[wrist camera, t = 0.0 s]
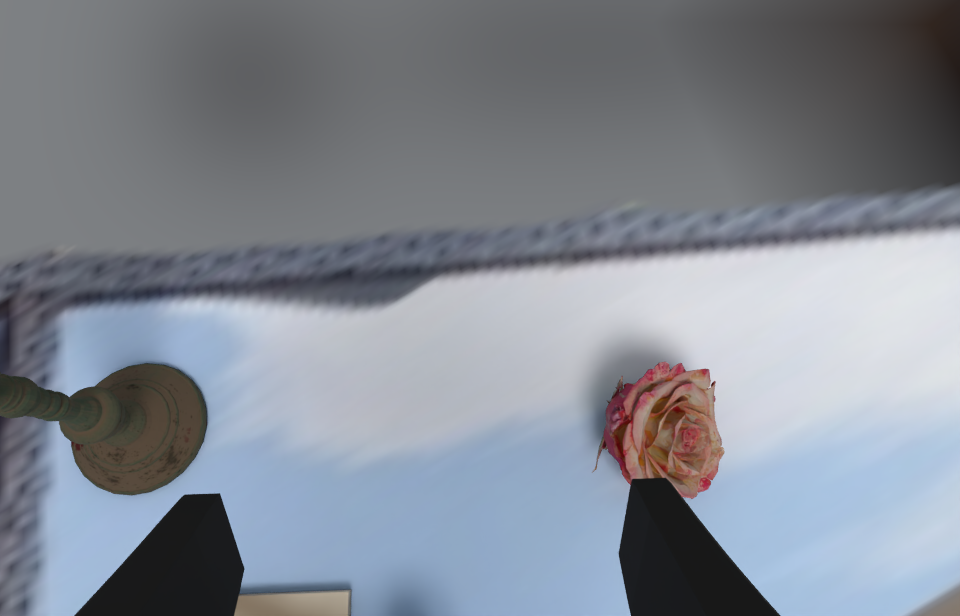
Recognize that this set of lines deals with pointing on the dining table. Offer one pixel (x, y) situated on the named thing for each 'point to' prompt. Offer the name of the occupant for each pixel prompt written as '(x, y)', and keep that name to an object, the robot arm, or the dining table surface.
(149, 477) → the candlestick holder
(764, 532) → the dining table surface
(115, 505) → the dining table surface
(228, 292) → the dining table surface
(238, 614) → the tan square tray
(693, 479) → the flower
